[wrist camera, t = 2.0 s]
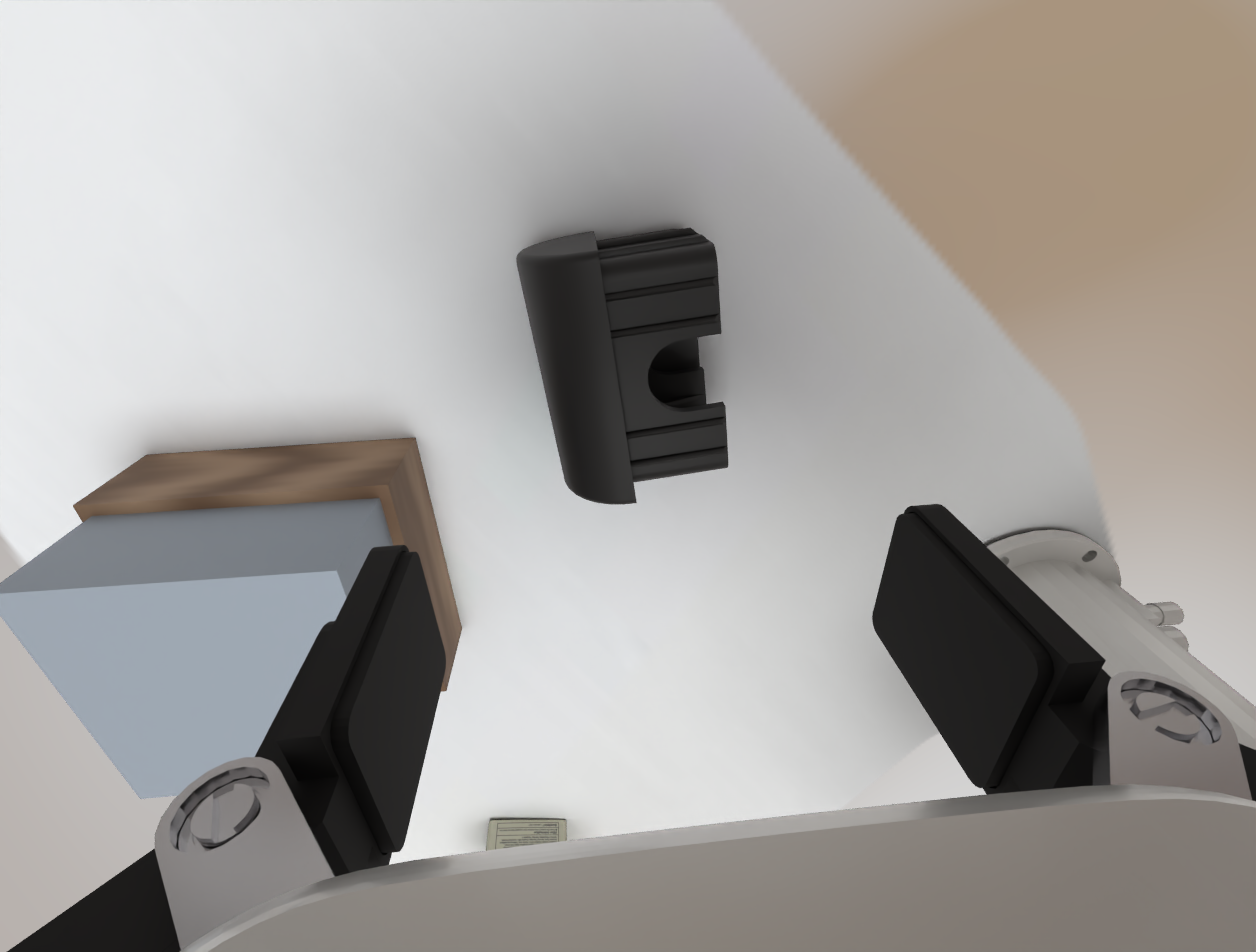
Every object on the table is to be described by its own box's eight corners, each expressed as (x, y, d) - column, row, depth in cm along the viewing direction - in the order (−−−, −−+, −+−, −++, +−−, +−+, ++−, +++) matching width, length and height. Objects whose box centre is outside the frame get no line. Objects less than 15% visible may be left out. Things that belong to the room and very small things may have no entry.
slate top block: (379, 497, 25) (336, 570, 20) (434, 687, 31) (409, 775, 26) (92, 515, 24) (-16, 594, 20) (204, 705, 30) (140, 799, 26)
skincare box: (486, 847, 47) (459, 1051, 36) (489, 816, 45) (461, 1023, 34) (564, 848, 48) (560, 1047, 37) (571, 818, 45) (568, 1020, 35)
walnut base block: (417, 435, 29) (387, 484, 24) (462, 624, 35) (446, 691, 31) (151, 451, 28) (72, 505, 24) (247, 641, 35) (199, 711, 30)
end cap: (523, 240, 24) (505, 265, 19) (685, 214, 24) (719, 231, 19) (566, 445, 29) (563, 517, 23) (702, 424, 29) (732, 490, 23)
